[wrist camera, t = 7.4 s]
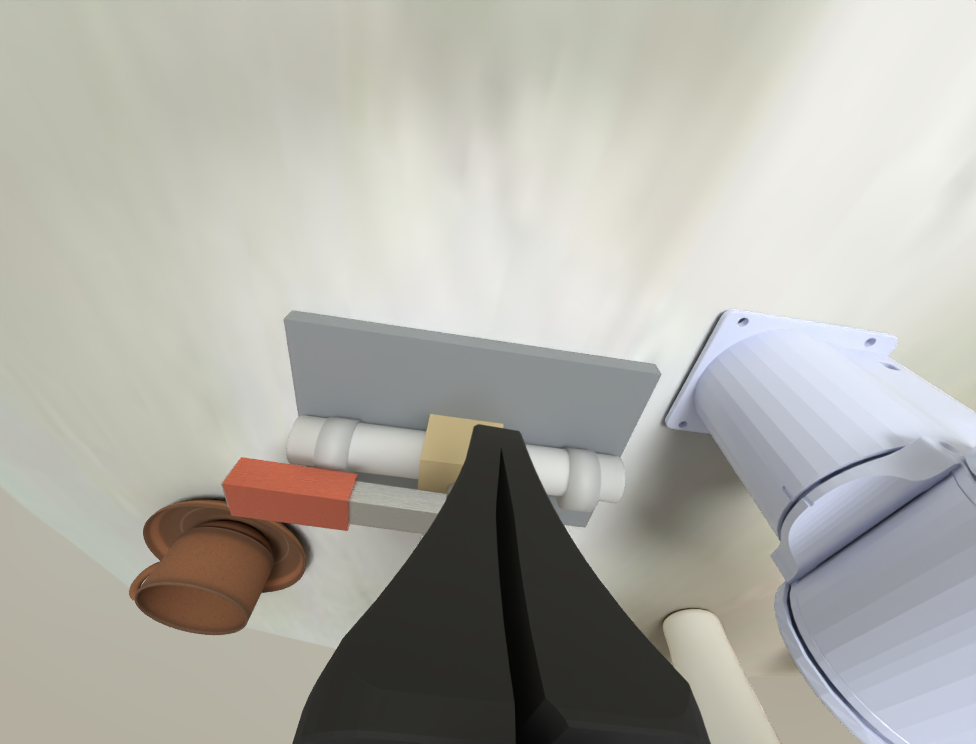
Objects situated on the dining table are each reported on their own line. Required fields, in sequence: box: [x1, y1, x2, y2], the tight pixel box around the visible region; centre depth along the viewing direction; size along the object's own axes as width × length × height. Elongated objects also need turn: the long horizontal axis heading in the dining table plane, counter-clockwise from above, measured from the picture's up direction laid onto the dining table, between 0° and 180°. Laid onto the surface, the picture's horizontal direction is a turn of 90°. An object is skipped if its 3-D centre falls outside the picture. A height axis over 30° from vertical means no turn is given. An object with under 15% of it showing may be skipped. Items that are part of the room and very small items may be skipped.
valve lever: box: [221, 457, 449, 534], centre depth 20 cm, size 12×2×2 cm, turn 79°
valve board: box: [284, 311, 661, 527], centre depth 23 cm, size 20×14×5 cm
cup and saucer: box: [129, 500, 306, 635], centre depth 30 cm, size 12×12×6 cm
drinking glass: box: [663, 609, 781, 744], centre depth 33 cm, size 7×7×15 cm
